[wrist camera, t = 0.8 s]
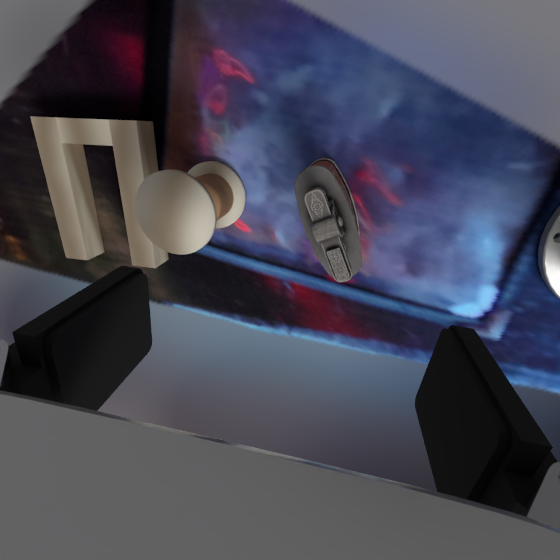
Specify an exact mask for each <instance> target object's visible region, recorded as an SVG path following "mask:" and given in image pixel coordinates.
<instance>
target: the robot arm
mask: <svg viewBox="0 0 560 560" xmlns="http://www.w3.org/2000/svg"><path fill="white" fill-rule="evenodd" d="M555 234H556V236H555ZM538 266H539V269H540V273H541V277H542V278H543V280H544V282H545V283H546V285H547V287H548V288H549V289H550V290H551V291H552V292H553V293H554V294H555V295H556V296H557V297H558V298H559V299H560V206H559V207H558V208H557V209H556V211H555V212H554V214H553V215H552V217H551V218H550V220H549V221H548V222H547V225H546V227H545V229H544V231H543V234H542V236H541V239H540V244H539V249H538ZM13 336H14V339H15V343H13V344H12V345H10V346H8V344H7V343H6V342H5V341H4V340H1V339H0V560H560V462H557V460H556V459H555V458H554V456H553V454H552V453H551V451H550V450H551V449H552V448H553V447H552V446H551V444H550V443H549V441H548V440H547V438H546V437H545V435H544V434H543V432H542V431H541V429H540V428H539V426H538V425H537V423H536V422H535V420H534V419H533V417H532V416H531V414H530V413H529V411H528V410H527V408H526V407H525V405H524V404H523V402H522V401H521V399H520V398H519V396H518V394H517V393H516V392H515V390H514V388H513V387H512V385H511V384H510V382H509V381H508V379H507V378H506V376H505V375H504V373H503V372H502V370H501V369H500V367H499V366H498V364H497V363H496V361H495V360H494V358H493V357H492V355H491V354H490V352H489V351H488V349H487V348H486V346H485V345H484V343H483V342H482V340H481V339H480V337H479V336H478V334H477V333H476V331H475V330H474V329H471V328H465V327H460V326H454V325H451V326H450V327H449V328H448V329H443V330H442V331H441V333H440V336H439V338H438V341H437V343H436V346H435V349H434V351H433V354H432V356H431V359H430V362H429V364H428V367H427V369H426V372H425V375H424V377H423V380H422V382H421V385H420V388H419V390H418V393H417V395H416V399H415V408H416V412H417V416H418V420H419V424H420V427H421V431H422V435H423V439H424V443H425V447H426V450H427V454H428V458H429V462H430V465H431V469H432V473H433V477H434V481H435V485H436V488H437V492H435V491H431V490H427V489H423V488H419V487H415V486H412V485H408V484H403V483H400V482H396V481H391V480H387V479H383V478H379V477H375V476H371V475H367V474H362V473H358V472H354V471H350V470H346V469H342V468H338V467H333V466H329V465H325V464H321V463H317V462H313V461H308V460H305V459H300V458H296V457H292V456H288V455H284V454H279V453H275V452H271V451H267V450H263V449H258V448H254V447H250V446H246V445H241V444H237V443H233V442H229V441H224V440H220V439H216V438H212V437H207V436H203V435H198V434H194V433H190V432H186V431H181V430H177V429H173V428H169V427H165V426H160V425H156V424H151V423H147V422H142V421H138V420H134V419H130V418H125V417H121V416H116V415H112V414H108V413H103V412H99V411H97V410H98V409H99V408H100V407H101V406H102V405H103V404H104V402H105V401H106V400H107V399H108V398H109V397H110V395H111V394H112V393H113V392H114V391H115V390H116V389H117V388H118V386H119V385H120V384H121V383H122V382H123V381H124V379H125V378H126V377H127V376H128V375H129V374H130V373H131V372H132V370H133V369H134V368H135V367H136V366H137V365H138V364H139V362H140V361H141V360H142V359H143V358H144V357H145V356H146V355H147V353H148V352H149V350H150V348H151V345H152V334H151V320H150V307H149V292H148V279H147V276H146V275H145V274H143V271H142V270H141V269H139V268H133V267H128V266H121V267H119V268H117V269H116V270H114V271H112V272H111V273H109V274H107V275H106V276H104V277H102V278H101V279H99V280H97V281H96V282H94V283H92V284H91V285H89V286H88V287H86V288H84V289H83V290H81V291H79V292H78V293H76V294H75V295H73V296H71V297H69V298H68V299H66V300H65V301H63V302H61V303H60V304H58V305H56V306H55V307H53V308H51V309H50V310H48V311H47V312H45V313H43V314H42V315H40V316H38V317H37V318H35V319H33V320H32V321H30V322H28V323H27V324H25V325H23V326H22V327H20V328H19V329H17V330H15V331H14V332H13Z"/></svg>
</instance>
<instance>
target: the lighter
mask: <svg viewBox="0 0 560 560" xmlns="http://www.w3.org/2000/svg"><path fill="white" fill-rule="evenodd" d="M295 193H296V199H297V204H298V209H299V214H300V217H301V220H302V223H303V226H304V230H305V233H306V235H307V237H308V240H309V242H310V244H311V246H312V248H313V250H314V252H315V254H316V256H317V257H318V259H319V261H320V262H321V264H322V265H323V267H324V268H325V270H326V272H327V273H328V274H329V275H330V276H332V277H334V279H335V280H336V281H337V282H345V281H348V280H350V279H351V278H352V276H354V275H355V274H356V273H357V272H359V270H360V268H361V266H362V255H361V247H360V239H359V235H360V233H359V225H358V217H357V212H356V208H355V204H354V200H353V196H352V194H351V191H350V189H349V187H348V184H347V182H346V180H345V178H344V176H343V174H342V172H341V171H340V169H339V167H338V165H337V164H336V163H335V161H334V160H332V159H330V158H320V159H317V160H316V161H314V162H313V163H312V164H311V165H310V166H309V167H308V168H306V169H305V170H303V171H302V172H301V173H300V174H299V175H298V177H297V179H296V181H295Z"/></svg>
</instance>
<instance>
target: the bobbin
mask: <svg viewBox="0 0 560 560" xmlns="http://www.w3.org/2000/svg"><path fill="white" fill-rule="evenodd" d="M245 204H246V191H245V187H244V184H243V182H242V180H241V178H240V177H239V175H238V174H237V173H236V172H235V171H234V170H233V169H232V168H231V167H229V166H228V165H226V164H224V163H221V162H217V161H207V162H202V163H199V164H197V165H195V166H194V167H192V168H191V169H190V170H189V172H188V173H186V172H183V171H179V170H163V171H159V172H156V173H153V174H151V175H149V176H148V177H147V178H146V179H145V180H144V181H143V182H142V183H141V185H140V186H139V188H138V190H137V193H136V198H135V212H136V217H137V220H138V223H139V225H140V227H141V229H142V230H143V232H144V233H145V235H146V236H147V237H148V238H149V240H150V241H151V242H153V243H154V244H155V245H156V246H158V247H159V248H161V249H163V250H165V251H167V252H170V253H173V254H189V253H193V252H195V251H197V250H199V249H200V248H202V247H203V246H204V245H205V244H207V243H208V241H209V240H210V239H211V237H212V236H213V234H214V231H215V228H224V227H227V226H229V225H231V224H232V223H234V222H235V221H236V220H237V219H238V218H239V217H240V216H241V214H242V213H243V211H244V208H245Z"/></svg>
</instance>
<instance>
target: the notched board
mask: <svg viewBox="0 0 560 560" xmlns="http://www.w3.org/2000/svg"><path fill="white" fill-rule="evenodd" d="M31 121H32V125H33V129H34V133H35V137H36V141H37V145H38V149H39V153H40V157H41V160H42V164H43V168H44V172H45V176H46V180H47V184H48V188H49V192H50V196H51V200H52V204H53V208H54V212H55V216H56V220H57V223H58V227H59V231H60V235H61V239H62V243H63V247H64V251H65V255H66V258H73V259H81V260H89V259H91V258H93V257H95V256H97V255H100V254H102V253H104V248H103V243H102V238H101V233H100V228H99V223H98V218H97V213H96V208H95V203H94V198H93V193H92V188H91V183H90V178H89V173H88V168H87V163H86V158H85V153H84V148H83V144H89V145H108V146H113V150H114V156H115V162H116V168H117V174H118V180H119V186H120V192H121V199H122V205H123V211H124V217H125V223H126V229H127V235H128V241H129V247H130V253H131V259H132V265H133V266H141V267H150V268H157V267H158V266H160V265H161V264H162V263H164V262H165V261H167V260H168V252H167V251H165V250H163V249H161V248H159V247H158V246H156V245H155V244H154V243H153V242H151V241H150V240H149V238H148V237H147V236H146V235H145V233H144V232H143V230H142V229H141V227H140V225H139V223H138V220H137V217H136V212H135V198H136V193H137V190H138V188H139V186H140V185H141V183H142V182H143V181H144V180H145V179H146V178H147V177H148V176H149V175H151V174H153V173H156V172H158V164H157V155H156V146H155V137H154V129H153V122H152V121H132V120H107V119H81V118H56V117H31Z"/></svg>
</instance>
